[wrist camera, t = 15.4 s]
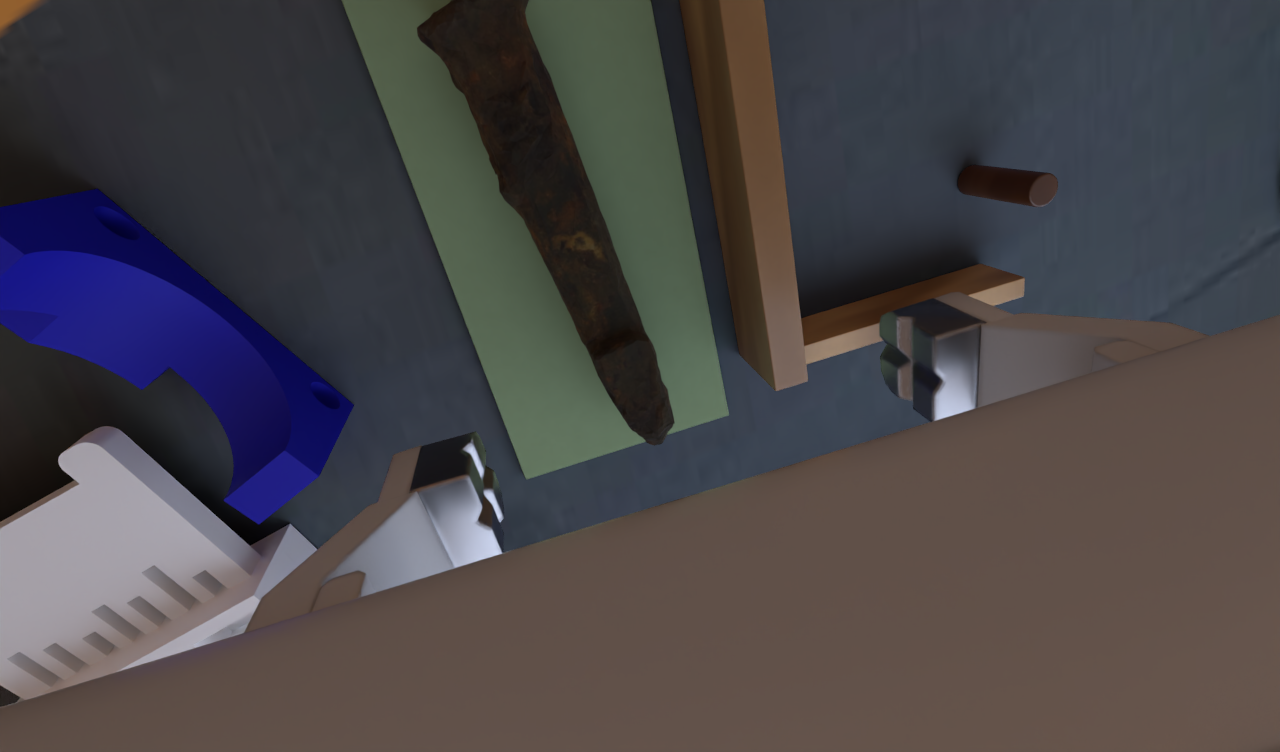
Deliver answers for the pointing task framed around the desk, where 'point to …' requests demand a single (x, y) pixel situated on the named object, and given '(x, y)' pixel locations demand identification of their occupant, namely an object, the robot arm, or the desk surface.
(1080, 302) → the desk surface
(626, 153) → the mat
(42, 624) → the organizer
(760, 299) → the tool rack
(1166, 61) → the desk surface
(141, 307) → the cable clip
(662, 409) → the hand tool
